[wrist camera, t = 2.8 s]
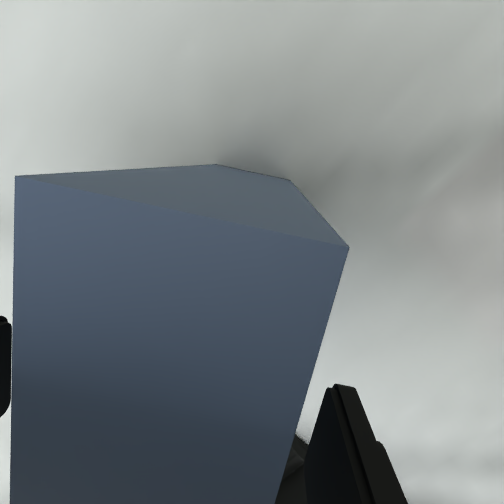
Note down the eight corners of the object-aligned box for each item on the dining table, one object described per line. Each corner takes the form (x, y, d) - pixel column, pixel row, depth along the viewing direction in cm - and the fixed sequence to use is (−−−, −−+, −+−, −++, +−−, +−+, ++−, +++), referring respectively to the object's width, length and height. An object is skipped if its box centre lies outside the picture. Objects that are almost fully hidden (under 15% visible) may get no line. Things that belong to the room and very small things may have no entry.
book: (215, 164, 22) (15, 176, 5) (289, 180, 22) (349, 247, 5) (187, 325, 26) (7, 677, 8) (253, 339, 25) (210, 721, 8)
